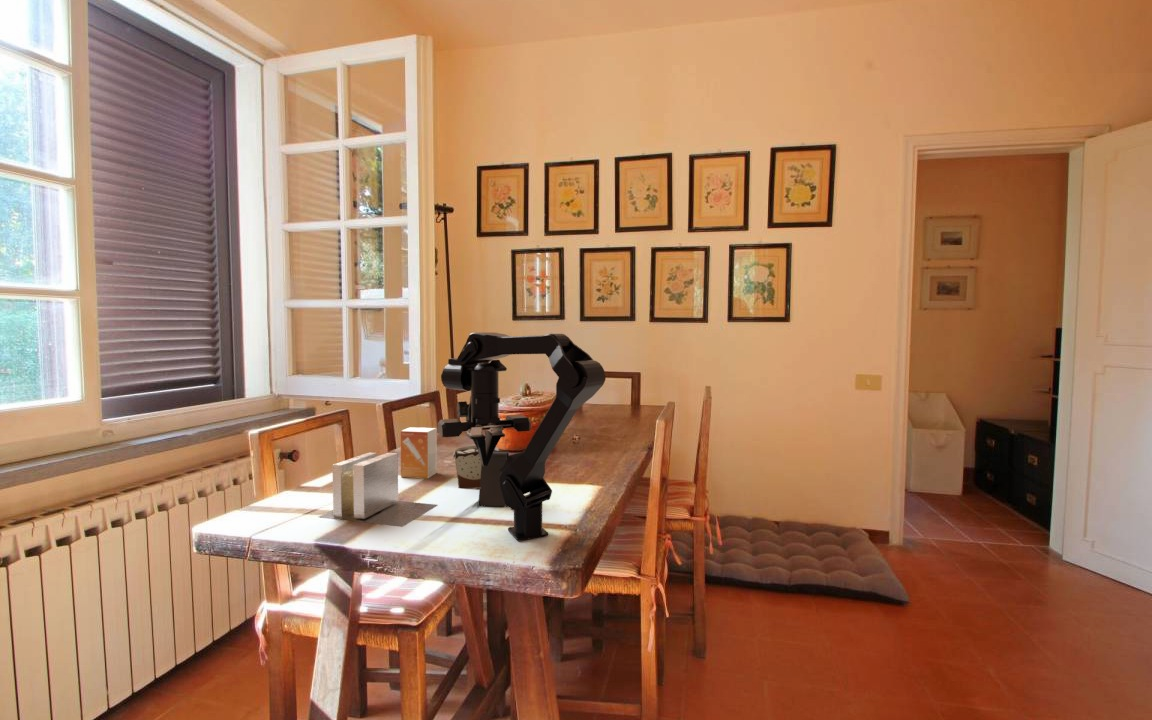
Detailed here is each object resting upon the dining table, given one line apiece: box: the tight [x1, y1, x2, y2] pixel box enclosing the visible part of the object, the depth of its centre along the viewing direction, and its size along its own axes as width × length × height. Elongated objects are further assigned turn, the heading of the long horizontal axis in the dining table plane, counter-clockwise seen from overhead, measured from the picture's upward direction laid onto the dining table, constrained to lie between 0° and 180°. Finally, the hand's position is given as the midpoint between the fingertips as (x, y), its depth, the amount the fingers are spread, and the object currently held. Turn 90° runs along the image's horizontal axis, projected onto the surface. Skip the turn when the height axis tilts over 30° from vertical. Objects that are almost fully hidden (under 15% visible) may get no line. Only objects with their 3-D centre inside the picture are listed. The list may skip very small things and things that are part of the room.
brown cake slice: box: [452, 444, 500, 490], centre depth 142 cm, size 12×6×10 cm, turn 108°
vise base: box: [318, 452, 438, 528], centre depth 117 cm, size 20×14×12 cm
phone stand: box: [478, 450, 510, 508], centre depth 129 cm, size 9×6×12 cm, turn 175°
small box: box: [400, 426, 438, 479], centre depth 151 cm, size 8×6×13 cm
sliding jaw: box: [353, 452, 399, 519], centre depth 117 cm, size 2×12×11 cm, turn 165°
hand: (485, 465), depth 114 cm, fingers closed
